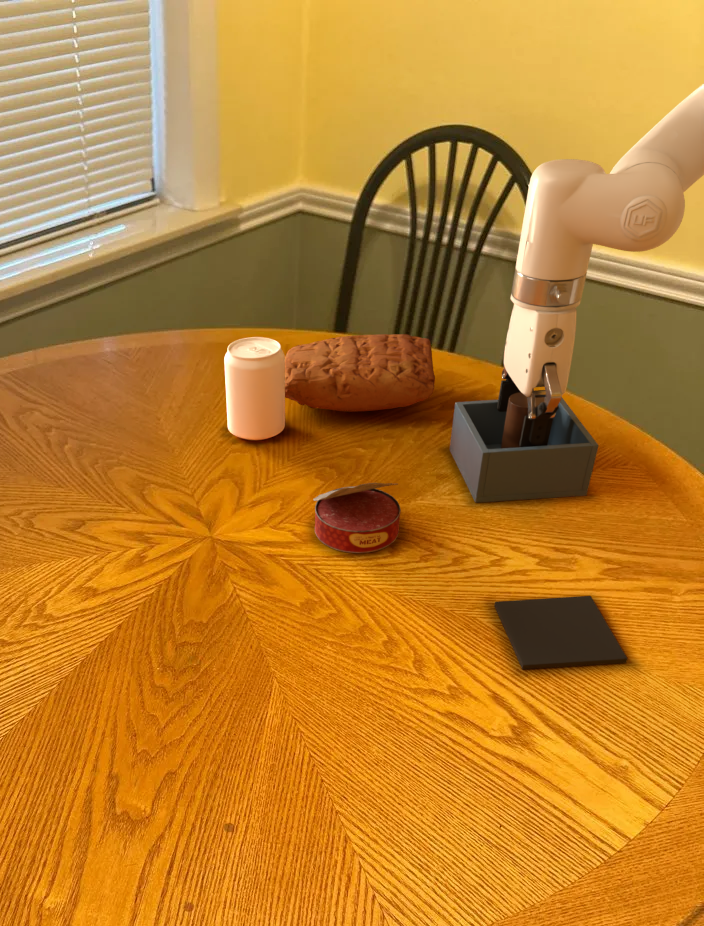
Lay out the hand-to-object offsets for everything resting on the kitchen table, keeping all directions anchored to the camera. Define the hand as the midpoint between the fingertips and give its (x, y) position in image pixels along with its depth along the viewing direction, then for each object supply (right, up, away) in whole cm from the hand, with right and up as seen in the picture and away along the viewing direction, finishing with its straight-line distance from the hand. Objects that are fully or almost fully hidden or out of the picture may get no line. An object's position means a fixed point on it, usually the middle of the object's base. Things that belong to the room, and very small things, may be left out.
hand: (520, 428), depth 110 cm
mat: (-3, -26, -21) cm, 33 cm away
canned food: (-21, -13, -4) cm, 25 cm away
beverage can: (-32, +3, +16) cm, 36 cm away
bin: (+1, -5, +4) cm, 6 cm away
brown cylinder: (+1, -4, +3) cm, 5 cm away
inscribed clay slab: (-17, +9, +22) cm, 29 cm away
